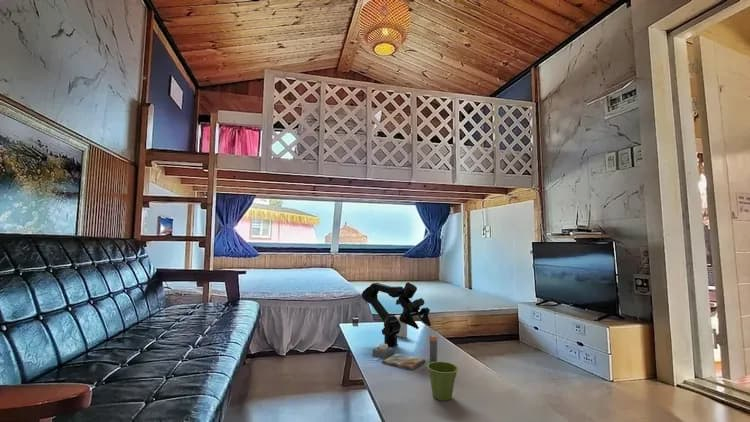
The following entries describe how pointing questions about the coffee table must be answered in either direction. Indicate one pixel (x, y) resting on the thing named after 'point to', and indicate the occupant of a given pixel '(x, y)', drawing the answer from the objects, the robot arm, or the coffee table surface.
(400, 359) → the picture board
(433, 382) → the plant pot
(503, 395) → the coffee table surface
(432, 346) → the marker
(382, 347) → the button
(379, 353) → the button housing
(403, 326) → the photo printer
